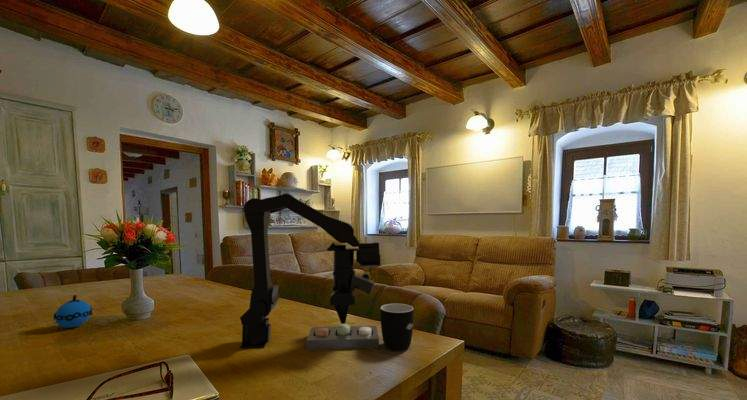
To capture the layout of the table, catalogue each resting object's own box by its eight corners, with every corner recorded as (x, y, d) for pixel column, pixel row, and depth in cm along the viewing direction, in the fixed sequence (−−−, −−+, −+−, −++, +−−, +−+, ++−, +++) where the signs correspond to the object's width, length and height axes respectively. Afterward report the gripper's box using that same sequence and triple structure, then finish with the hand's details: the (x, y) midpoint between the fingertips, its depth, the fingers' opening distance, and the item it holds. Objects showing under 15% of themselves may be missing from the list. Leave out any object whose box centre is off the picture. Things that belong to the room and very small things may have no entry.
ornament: (88, 328, 97) (90, 296, 97) (49, 334, 92) (51, 299, 92) (92, 321, 104) (95, 291, 104) (57, 326, 99) (59, 294, 100)
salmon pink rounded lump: (314, 342, 84) (314, 332, 84) (316, 338, 87) (316, 327, 88) (327, 342, 84) (327, 331, 84) (328, 337, 88) (329, 327, 88)
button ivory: (358, 341, 85) (358, 331, 85) (358, 337, 88) (358, 326, 88) (371, 341, 85) (371, 331, 85) (371, 336, 88) (371, 326, 89)
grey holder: (379, 348, 82) (379, 338, 82) (306, 349, 80) (306, 340, 80) (376, 334, 92) (376, 325, 92) (311, 335, 91) (311, 327, 91)
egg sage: (336, 338, 84) (336, 328, 84) (337, 334, 88) (337, 324, 88) (349, 338, 85) (350, 327, 85) (350, 333, 88) (350, 323, 88)
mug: (409, 355, 77) (409, 313, 78) (375, 350, 80) (375, 310, 81) (419, 338, 88) (418, 302, 89) (388, 335, 91) (388, 299, 92)
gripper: (374, 271, 79) (374, 334, 78) (370, 262, 97) (370, 313, 96) (330, 271, 78) (329, 335, 77) (334, 262, 97) (334, 313, 96)
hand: (343, 323), depth 86 cm, fingers closed
